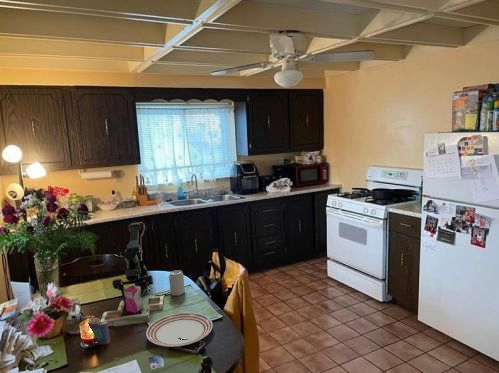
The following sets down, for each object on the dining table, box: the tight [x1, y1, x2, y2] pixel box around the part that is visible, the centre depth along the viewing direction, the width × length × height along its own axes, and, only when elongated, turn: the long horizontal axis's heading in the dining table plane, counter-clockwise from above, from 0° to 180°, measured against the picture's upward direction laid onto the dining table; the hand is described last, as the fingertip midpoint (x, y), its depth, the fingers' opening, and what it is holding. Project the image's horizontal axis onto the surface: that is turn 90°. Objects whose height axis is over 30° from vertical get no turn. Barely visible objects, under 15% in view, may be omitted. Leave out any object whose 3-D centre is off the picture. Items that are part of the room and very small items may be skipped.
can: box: [168, 269, 186, 297], centre depth 197 cm, size 8×8×12 cm
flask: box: [87, 317, 111, 346], centre depth 154 cm, size 9×3×11 cm, turn 74°
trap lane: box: [99, 295, 165, 327], centre depth 179 cm, size 22×27×3 cm
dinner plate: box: [145, 311, 214, 348], centre depth 157 cm, size 27×27×3 cm
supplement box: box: [124, 284, 144, 315], centre depth 181 cm, size 6×6×12 cm
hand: (133, 298), depth 179 cm, fingers closed on supplement box, 8 cm apart
